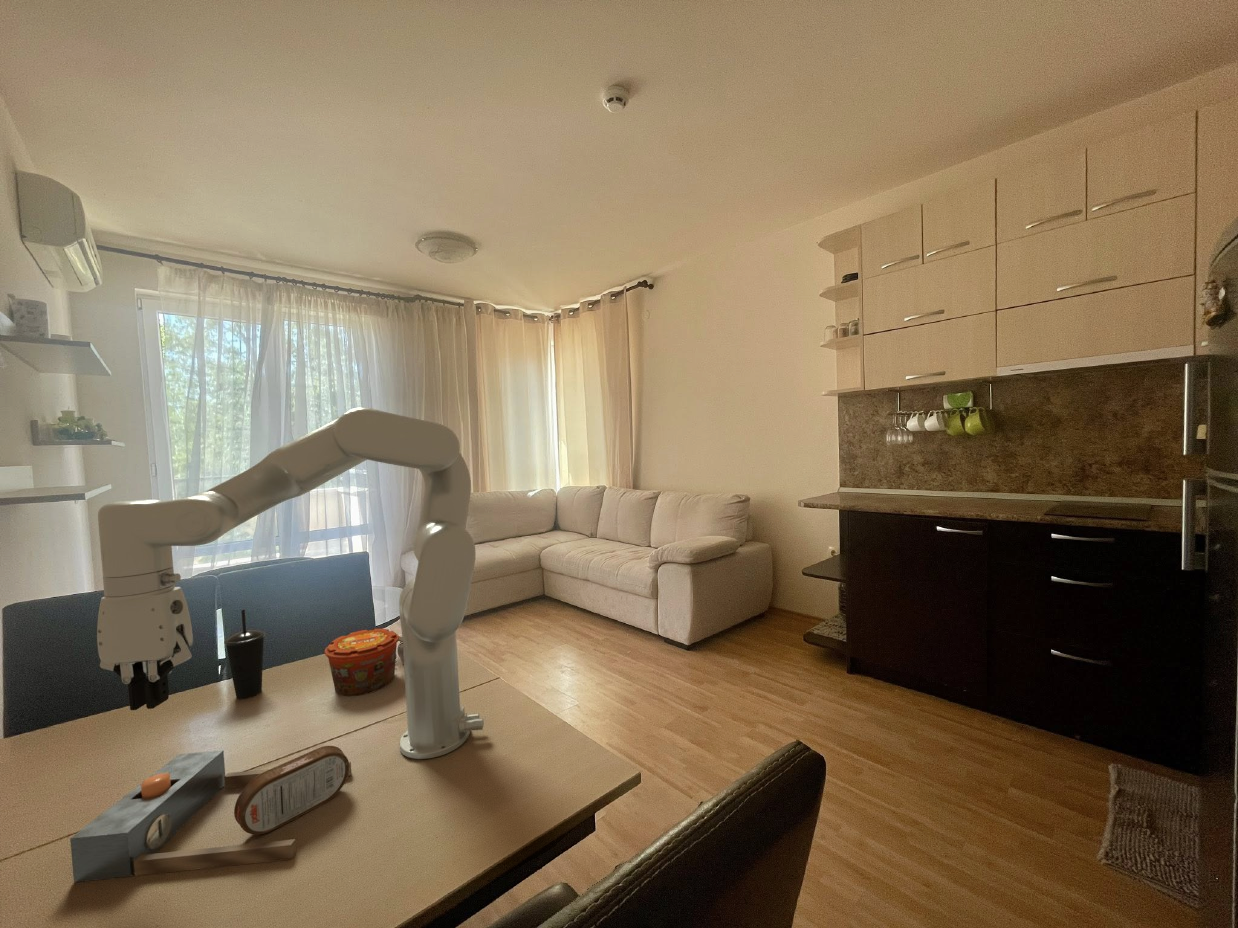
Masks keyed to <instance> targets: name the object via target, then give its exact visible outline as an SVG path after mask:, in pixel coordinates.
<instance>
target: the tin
mask: <svg viewBox="0 0 1238 928" xmlns="http://www.w3.org/2000/svg"><path fill="white" fill-rule="evenodd" d="M349 762H350V761H349V758H348V756H346V755H345V754H344V752H343V750H342V749H341V748H339V747H338V746H336V745H335V746H334V745H324V746H323V745H322V746H320V747H318V748H315V749H313V750H311V751H307V752H306V753H304V754H302V755H299V756H297V757H295V758H292V759H291V760H288V761H286V762H283V763H281V764H278V765H276V766H274V767H272V768H268V769H269V770H267V771H265V772H263V773H261V774H260V775H258V776H257V777H255V778H254V779H253V780H252V781H251V782H250V783H249V784H248V785H247V786H246V787H243V790H241V792H240V794H238V795H239V796H238V797H237V798H236V802H235V803H234V809H233V813H234V815H233V816H234V818H235V821H236V822H237V824H238V826H240V828H241V829H242V830H243V831H244V832H245V833H247V834H250V835H255V836H257V835H258V836H259V835H264V834H269V833H271V832H273V831H274V830H277V829H278V828H280V827H283V826H284V825H286V824H288V823H290V822H292V821H294V820H296V819H298V818H300V817H301V816H304V815H305V814H308V813H309V812H310V811H311V812H312V810H313V811H314V810H315V809H316V808H318V807H321V806H323V805H324V804H326V803H328V802H329V801H331V800H332V799H334V797H335V796H337V794H339V792H341V790H342V788H343V787H344V786H345V784H346V782H347V780H348V778H349V777H348V773H349Z"/></svg>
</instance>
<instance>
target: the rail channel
mask: <svg viewBox="0 0 1238 928" xmlns="http://www.w3.org/2000/svg"><path fill="white" fill-rule="evenodd" d="M269 769H270V768H268V769H257V770H245V771H237V772H234V771H233V772H228V773H226V774H225V776H224V783H225V786H224V789H232V788H233V789H234V788H242V787H243V788H245V787H246V786H247V785H248V784H249V783H250V782H251V781H252V780H253V779H254V778H255V777H257V776H258V775H260V774H261V773H263V772H265V771H267V770H269ZM351 775H352V762H351V761H349V773H348V777H347V778H350V776H351ZM296 846H297V845H296V838H294V839H284V840H283V839H282V840H275V841H273V840H272V841H263V842H255V843H254V842H253V843H246V844H245V843H244V844H235V845H225V846H217V847H216V846H215V847H207V848H205V847H204V848H197V849H196V848H195V849H188V850H187V849H186V850H178V851H168V852H166V851H165V852H159V853H158V852H157V853H155V854H147V855H140V856H139V857H138V858H137V859H136V860H135V861H134V871H135V873H134V876H145V875H146V876H147V875H154V874H155V875H156V874H165V873H174V872H182V871H193V870H201V869H202V870H203V869H211V868H212V869H213V868H220V867H230V866H239V865H248V864H249V865H250V864H258V863H259V864H260V863H268V862H276V861H286V860H292V859H293V858H294V857H295V856H296V854H297V847H296Z"/></svg>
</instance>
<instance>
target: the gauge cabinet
mask: <svg viewBox="0 0 1238 928" xmlns="http://www.w3.org/2000/svg"><path fill="white" fill-rule="evenodd" d="M224 753H225V751H224V749H222V750H211V751H200V752H189V753H188V752H187V753H179V754H178V755H176V756H175V757H173V758H172V759H171V760H170V761H168V762H167V763H166V764H164V766H162V767H161V768H160V769H158V770H157V771H156V772H154V773H153V774H152V775H150V776H149V777H148V778H150V777H152V776H154V775H157V774H161V773H169V774H170V782H171V788H169V789H168V790H167V791H166V792H165V793H163V794H162V795H161V796H160V797H152V798H142V793H141V784H142V782H141V783H140V784H139V785H137V786H136V787H135V788H133V789H132V790H131V791H129V792H128V793H127V794H126V795H124V796H123V797H122V798H121V799H119V800H118V801H116V802H115V803H114V804H113V805H111V806H110V807H109V808H108V809H107V810H105V811H104V812H102V813H101V814H100V815H98V816H97V817H96V818H95V819H92V821H91V822H90V823H88V824H87V825H86V826H84V827H83V828H82V829H79V831H78V832H77V833H75V834H74V835H72V836H71V837H70V840H69V843H70V850H71V851H70V852H71V862H72V863H71V864H72V877H73V883H80V882H90V881H91V882H92V881H100V880H106V879H108V880H109V879H119V878H125V877H132V876H133V875H135V871H134V861H135V860H136V859H137V858H138V857H139V856H140V855H147V854H157V853H158V850H160V849H162V847H163V846H164V845H165V844H166V843H168V841H169V840H170V839H171V838H172V837H173V836H174V835H176V834H177V833H178V832H179V831H180V829H181V828H183V827H184V826H185V825H186V824H187V823H188V822H189V821H190V820H191V819H192V818H193V817H194V816H195V815H196V814H197V813H198V812H200V811H201V809H203V807H205V805H206V804H208V803H209V801H211V800H212V799H213V798H214V797H215V796H216V795H217V794H218V793H219V792H220V791H221V790H223V788H225V783H224V776H226V767H225V754H224ZM156 852H157V853H156Z"/></svg>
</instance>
